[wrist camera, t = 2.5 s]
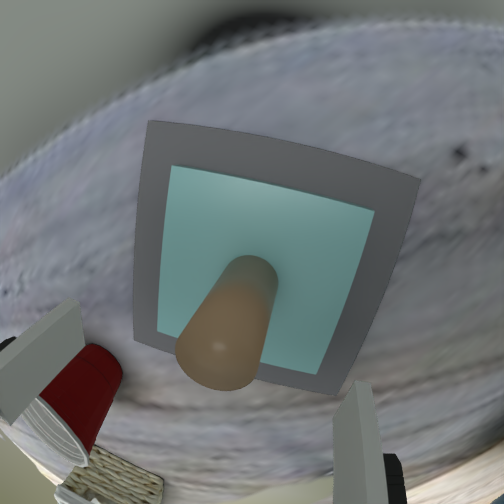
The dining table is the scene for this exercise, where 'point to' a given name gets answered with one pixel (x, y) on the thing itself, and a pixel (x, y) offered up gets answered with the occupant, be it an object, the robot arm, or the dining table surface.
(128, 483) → the storage basket
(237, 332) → the lid
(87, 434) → the plastic cup
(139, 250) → the mat
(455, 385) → the dining table surface
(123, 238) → the dining table surface
